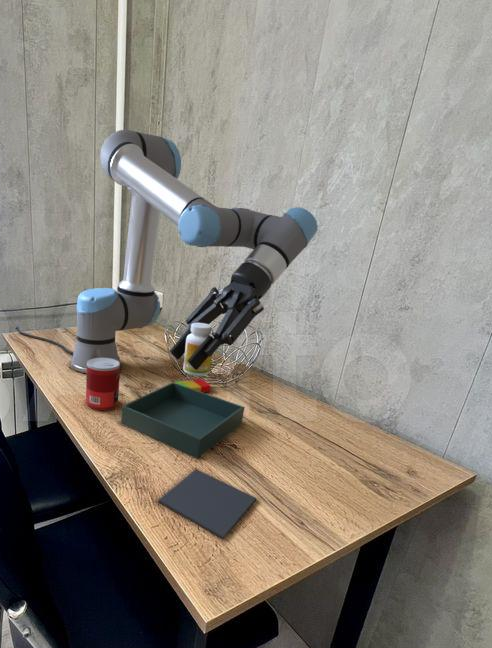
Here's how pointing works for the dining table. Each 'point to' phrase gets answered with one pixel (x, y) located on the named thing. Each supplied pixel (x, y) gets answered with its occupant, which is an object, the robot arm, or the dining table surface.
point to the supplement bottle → (193, 343)
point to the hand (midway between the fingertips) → (182, 360)
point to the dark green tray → (183, 418)
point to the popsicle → (196, 385)
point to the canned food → (102, 383)
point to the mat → (208, 502)
